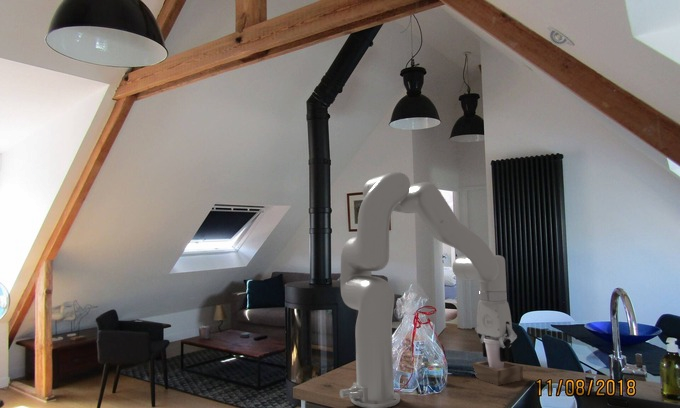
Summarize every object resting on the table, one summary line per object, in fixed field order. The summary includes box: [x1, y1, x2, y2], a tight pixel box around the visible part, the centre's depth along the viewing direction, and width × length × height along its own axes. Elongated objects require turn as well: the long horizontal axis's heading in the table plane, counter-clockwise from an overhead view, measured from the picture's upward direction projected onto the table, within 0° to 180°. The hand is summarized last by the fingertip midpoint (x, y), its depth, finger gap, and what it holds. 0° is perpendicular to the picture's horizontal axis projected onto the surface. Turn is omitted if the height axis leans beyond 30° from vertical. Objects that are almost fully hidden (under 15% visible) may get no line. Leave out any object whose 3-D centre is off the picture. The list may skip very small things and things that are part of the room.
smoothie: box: [484, 337, 505, 369], centre depth 139 cm, size 6×6×14 cm
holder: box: [471, 359, 524, 386], centre depth 138 cm, size 10×10×4 cm
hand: (496, 358), depth 139 cm, fingers closed on smoothie, 6 cm apart
